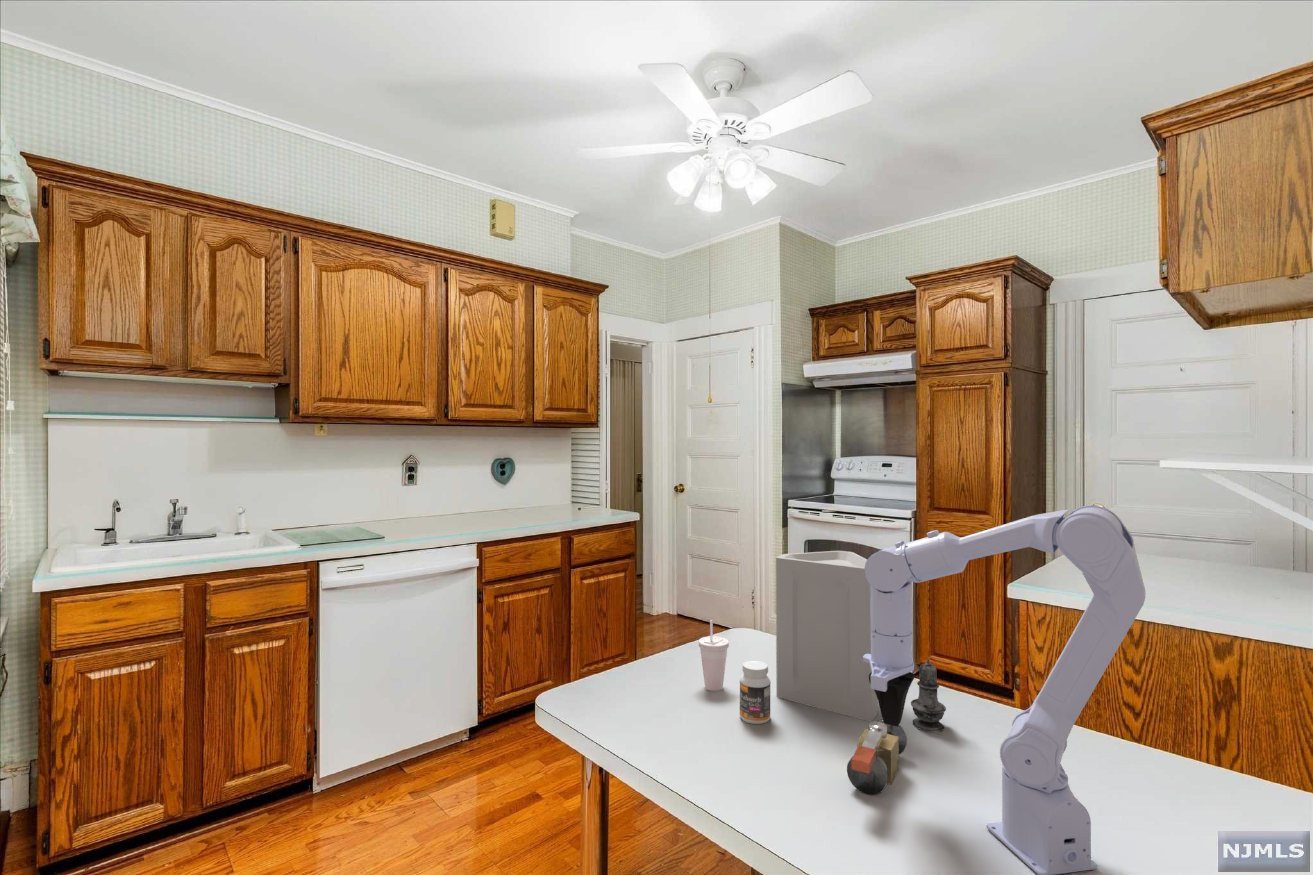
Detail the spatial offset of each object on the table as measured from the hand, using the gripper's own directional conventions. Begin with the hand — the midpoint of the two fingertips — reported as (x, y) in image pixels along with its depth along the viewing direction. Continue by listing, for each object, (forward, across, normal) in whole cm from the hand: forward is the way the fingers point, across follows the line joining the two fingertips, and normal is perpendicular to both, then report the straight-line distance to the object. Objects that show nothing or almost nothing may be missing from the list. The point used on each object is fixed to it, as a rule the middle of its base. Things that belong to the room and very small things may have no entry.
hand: (892, 723), depth 90 cm
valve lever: (+4, +1, -3) cm, 5 cm away
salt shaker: (+10, -26, 0) cm, 28 cm away
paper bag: (+10, -29, -18) cm, 36 cm away
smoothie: (+10, -19, -41) cm, 46 cm away
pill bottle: (+10, -11, -27) cm, 31 cm away
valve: (+10, -5, -3) cm, 12 cm away
